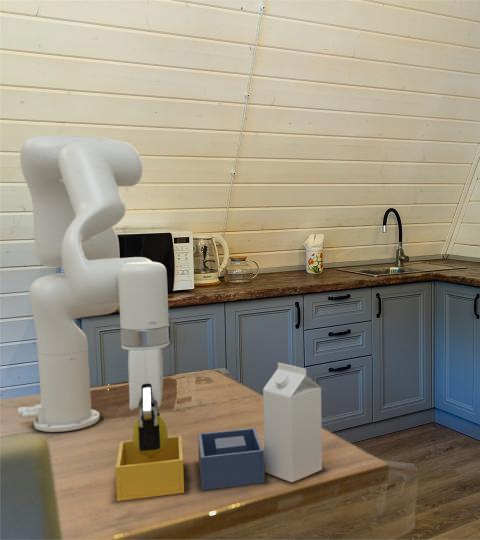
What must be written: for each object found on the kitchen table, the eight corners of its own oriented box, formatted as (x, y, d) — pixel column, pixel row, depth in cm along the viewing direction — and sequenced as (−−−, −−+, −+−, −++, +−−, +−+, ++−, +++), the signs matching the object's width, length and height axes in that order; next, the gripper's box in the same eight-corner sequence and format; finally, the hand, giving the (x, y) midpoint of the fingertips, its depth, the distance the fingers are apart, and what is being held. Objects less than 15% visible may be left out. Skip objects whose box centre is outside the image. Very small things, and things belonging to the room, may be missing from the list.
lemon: (157, 466, 119) (155, 418, 118) (127, 463, 120) (124, 416, 119) (174, 453, 124) (172, 408, 123) (145, 451, 125) (143, 406, 124)
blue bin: (202, 490, 119) (200, 457, 119) (198, 463, 131) (197, 433, 130) (264, 482, 122) (263, 450, 122) (256, 457, 134) (255, 427, 133)
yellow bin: (117, 501, 115) (115, 467, 115) (121, 472, 127) (120, 441, 126) (184, 492, 118) (183, 459, 118) (182, 465, 130) (181, 435, 129)
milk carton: (295, 461, 132) (293, 358, 130) (322, 470, 127) (321, 365, 125) (264, 473, 126) (262, 366, 124) (292, 483, 122) (290, 373, 120)
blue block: (217, 476, 123) (216, 448, 123) (215, 466, 128) (214, 438, 127) (247, 473, 125) (246, 445, 124) (244, 462, 130) (243, 435, 129)
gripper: (124, 328, 127) (128, 429, 129) (117, 349, 110) (123, 464, 112) (169, 326, 129) (173, 424, 131) (169, 346, 113) (174, 458, 115)
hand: (150, 442), depth 122 cm, fingers closed on lemon, 5 cm apart
